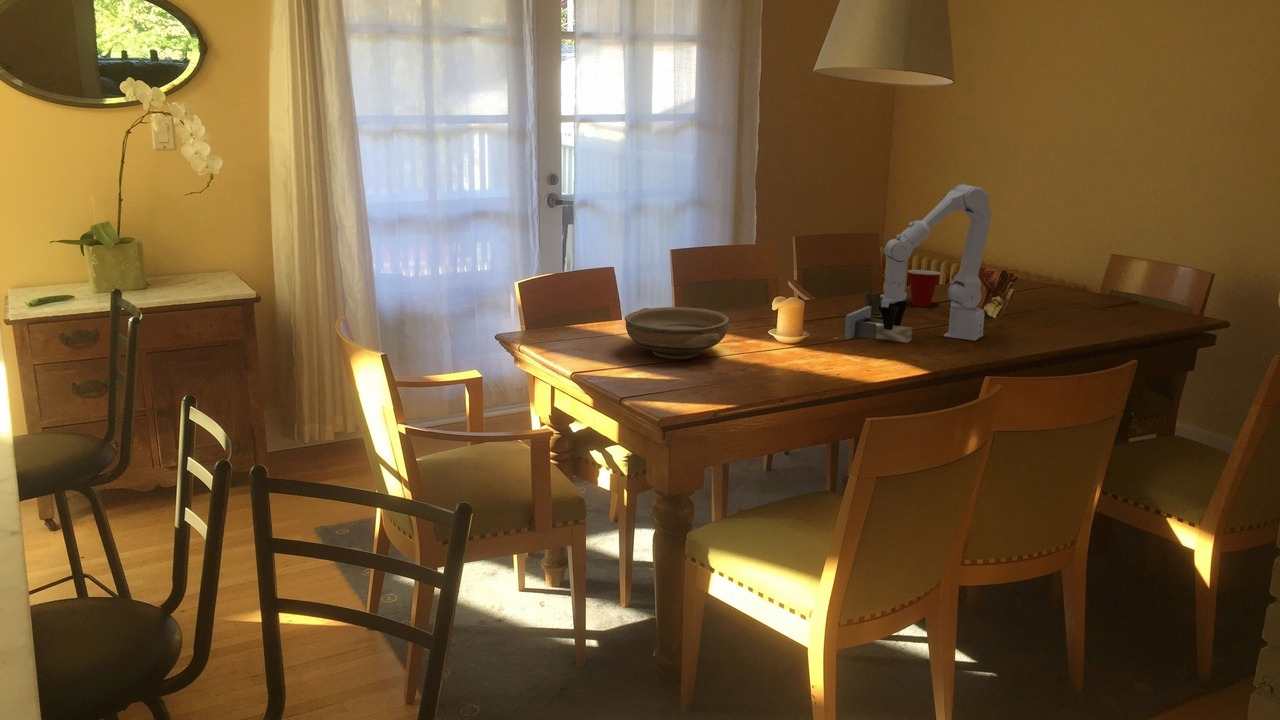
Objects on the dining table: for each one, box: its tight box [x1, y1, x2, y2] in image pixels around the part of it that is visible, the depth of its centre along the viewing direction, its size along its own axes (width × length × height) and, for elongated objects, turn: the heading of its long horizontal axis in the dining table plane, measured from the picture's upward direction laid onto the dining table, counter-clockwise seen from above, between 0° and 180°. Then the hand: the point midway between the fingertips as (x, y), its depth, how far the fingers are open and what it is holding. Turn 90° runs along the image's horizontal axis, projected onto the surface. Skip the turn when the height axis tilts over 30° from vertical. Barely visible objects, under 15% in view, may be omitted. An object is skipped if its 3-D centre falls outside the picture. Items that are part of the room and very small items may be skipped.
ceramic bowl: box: [624, 306, 730, 360], centre depth 279 cm, size 37×29×10 cm
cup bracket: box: [853, 317, 883, 340], centre depth 299 cm, size 6×7×4 cm
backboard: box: [844, 306, 871, 340], centre depth 301 cm, size 1×16×7 cm, turn 145°
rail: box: [868, 322, 913, 343], centre depth 296 cm, size 14×4×4 cm, turn 55°
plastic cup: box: [907, 269, 942, 308], centre depth 340 cm, size 11×11×12 cm
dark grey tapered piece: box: [864, 291, 884, 319], centre depth 321 cm, size 8×7×8 cm
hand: (892, 327), depth 295 cm, fingers open, 6 cm apart
